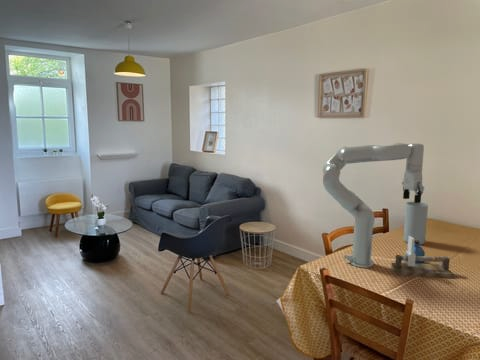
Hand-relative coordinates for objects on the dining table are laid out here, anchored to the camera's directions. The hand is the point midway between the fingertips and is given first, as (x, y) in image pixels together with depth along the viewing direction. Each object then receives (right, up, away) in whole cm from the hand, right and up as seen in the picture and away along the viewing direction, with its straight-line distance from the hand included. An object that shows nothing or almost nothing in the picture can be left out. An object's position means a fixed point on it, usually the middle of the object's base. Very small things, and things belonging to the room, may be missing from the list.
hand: (411, 200), depth 185 cm
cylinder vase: (+23, -29, +45) cm, 58 cm away
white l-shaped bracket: (-2, -32, -2) cm, 33 cm away
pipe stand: (+4, -36, -2) cm, 37 cm away
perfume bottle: (+7, -35, +12) cm, 37 cm away
